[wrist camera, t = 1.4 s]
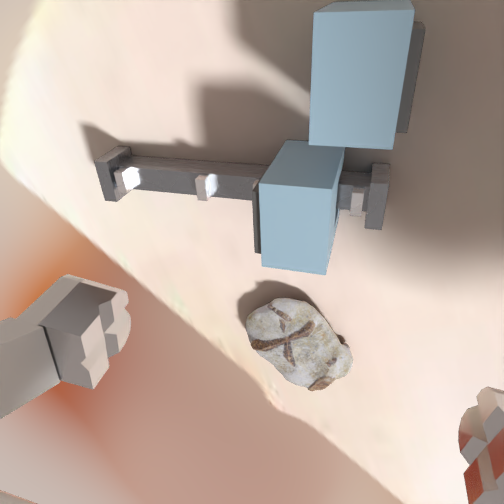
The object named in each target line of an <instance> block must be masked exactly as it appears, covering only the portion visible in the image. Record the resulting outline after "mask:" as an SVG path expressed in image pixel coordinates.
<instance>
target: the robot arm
mask: <svg viewBox="0 0 504 504" xmlns="http://www.w3.org/2000/svg"><path fill="white" fill-rule="evenodd" d="M127 304H128V296H127V292H125V291H124V290H121V289H117V288H114V287H110V286H107V285H104V284H101V283H97V282H94V281H90V280H87V279H83V278H79V277H76V276H72V275H69V274H67V275H65V276H62V277H60V278H59V279H58V280H57V281H56V282H55V283H54V284H53V285H52V286H51V287H50V288H49V289H47V290H46V291H45V292H44V293H43V294H42V295H41V296H40V297H39V298H38V299H37V300H36V301H35V302H34V303H33V304H31V305H30V307H28V308H27V309H26V310H25V311H24V312H23V313H22V314H21V315H20V316H19V317H18V318H17V319H14V318H7V319H5V320H2V321H0V419H2V418H3V417H5V416H6V415H8V414H10V413H11V412H13V411H15V410H16V409H18V408H19V407H21V406H23V405H24V404H26V403H28V402H29V401H31V400H32V399H34V398H36V397H37V396H39V395H40V394H42V393H44V392H45V391H47V390H49V389H50V388H52V387H53V386H55V385H57V384H58V383H60V380H61V381H65V382H68V383H72V384H75V385H79V386H82V387H86V388H89V389H94V388H95V386H96V385H97V384H98V382H99V381H100V379H101V378H102V376H103V375H104V373H105V372H106V370H107V369H108V368H109V360H108V358H109V357H111V356H113V355H115V354H117V353H119V352H120V351H121V349H122V348H123V346H124V344H125V343H126V340H127V338H128V335H129V333H130V327H131V318H130V315H129V313H128V312H127V311H126V310H125V309H124V308H125V306H126V305H127ZM477 401H478V405H477V406H474V407H471V408H468V409H467V410H466V412H465V413H464V415H463V417H462V418H461V422H460V426H459V435H458V441H459V448H460V453H461V454H462V455H463V457H464V458H465V459H466V461H467V462H468V463H469V467H468V468H467V469H466V471H465V472H464V479H465V485H466V491H467V497H468V503H469V504H504V391H503V390H499V389H495V388H491V387H486V388H484V389H482V390H481V391H480V393H479V394H478V395H477ZM0 504H37V503H34V502H31V501H29V500H26V499H23V498H21V497H18V496H15V495H12V494H10V493H7V492H5V491H2V490H0Z"/></svg>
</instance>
